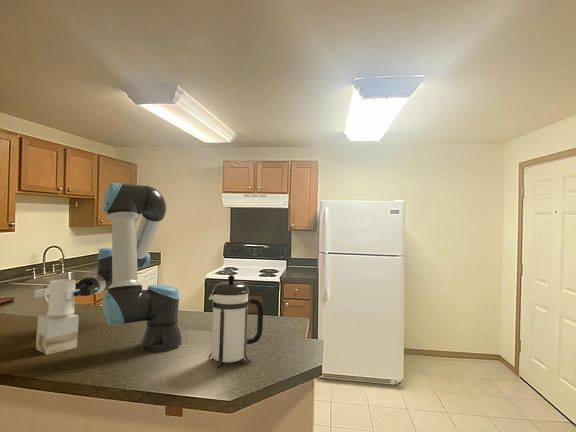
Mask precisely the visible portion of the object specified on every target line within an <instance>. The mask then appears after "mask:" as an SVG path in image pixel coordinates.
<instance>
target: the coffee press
mask: <svg viewBox="0 0 576 432" xmlns="http://www.w3.org/2000/svg"><path fill="white" fill-rule="evenodd" d="M227 279H228V281H220V282H218V283H217V284H215V286H214V288H213V289H212V292H211V293H210V294H209V297H208V300H210V301H211V300H212V322H211V323H212V327H211V329H212V331H211V352H210V354H209V355H208V359H209V358H210V357H212V359H211V360H214V361H217V365H216V368H217V369H219V368H221V367H222V368H223V367H224V365H225V363H234V362H235V363H236V362H239V361H241V362H242V363H243V364H244V365H248V364H249V362H250V360H249V358H248V356H247V347H248V345H253V344H255V343H257V342H258V341H259V340H260V339H261V337H262V336H263V329H264V328H263V325H264V324H263V323H264V322H263V321H264V319H263V318H264V309H263V304H262V303H261V302H260V301H259V300H258V299H256V298H250V299H249V293H250V289H249V288H248V285H247V284H245V283H244V282H241V281H235V276H234V275H233V274H230V275H229V276H228V277H227ZM249 304H250V305H255V306H256V308H257V319H256V320H257V321H256V322H257V326H256V328H257V329H256V334H255V336H254V337H252V338H247V337H248V335H247V333H248V332H247V331H248V308H249V307H248V306H249ZM245 363H246V364H245Z"/></svg>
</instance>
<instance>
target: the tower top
mask: <svg viewBox="0 0 576 432" xmlns="http://www.w3.org/2000/svg"><path fill="white" fill-rule="evenodd" d="M79 317H80V316H79V315H77V314H75V313H72V314H68V315H61V316H50V315H48V314H46V315H45V314H44V315H39V316H37V325H36V326H37V327H36V330H37V331H36V334H37V333H39V334H41V335H42V336H44V337H46V338H50V337H55V336H60V335H65V334H70V333H75V332H78V333H79V322H80V321H79V320H80V319H79Z"/></svg>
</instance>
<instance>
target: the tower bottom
mask: <svg viewBox="0 0 576 432" xmlns="http://www.w3.org/2000/svg"><path fill="white" fill-rule="evenodd" d="M78 334H79V331H78V332H75V333H70V334H65V335H60V336H55V337H50V338H46V337H44V336H42V335H41V334H39V333H37V332H36V335H35V336H36V338H35V350H37V351H39V352H40V353H43V354H44V355H46V356H47V355H51V354H55V353H60V352H63V351H67V350H72V349H75V348H78Z"/></svg>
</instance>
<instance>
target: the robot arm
mask: <svg viewBox="0 0 576 432" xmlns="http://www.w3.org/2000/svg"><path fill="white" fill-rule="evenodd" d="M102 212H104V213H107V219H109V220H110V221H111V234H112V235H111V247H110V248H109V247H107V248H103V247H101V248H100V249H99V250H98V255H97V273H96V275H94V276H90V277H84V278H82V279H80V280H79V282H76V285H75V290H72V291H67V292H65V299H66V300H67V299H71V298H74V297H75V298H77V297H80V296H81V297H89V296H92V295H95V296H97V294H99V293H102V292H104V293H103V295H102V298H101V299H102V311H103V316H104V319H105V321H106V323H107V324H108V325H109V326H119V325H120V326H123V325H129V324H135V323H142V322H146V327H145V329H144V332H143V334H142V338H141V340H140V349H141V350H142V351H145V352H150V353H151V352H152V353H160V352H161V353H162V352H168V351H167V350H169V351H172V350H171V349H173V350H175V349H174V348H176V347H178V346H179V345H181V346H182V344H181V343H183V341H182V340H183V338H182V334H181V331H180V327H179V306H180V304H179V303H180V293H179V292H180V291H179V289H178V288H177V287H175V286H170V285H164V284H163V285H162V284H150V285H148V286H147V289H143V284H142V283H140V281H139V280H138V279H139V278H138V269H140V268H147V267H148V266H149V265H150V263H151V262H150V261H151V255H150V253H149V250H150V248H151V245H152V242H153V240H154V237H155V234H156V232H157V229H158V226H159V224H160V222H161V221H163V220H164V218H165V216H166V212H167V205H166V200H165V198H164V196H163V195H162V193H161V192H160V191H159V190H158V189H156V188H154V187H152V186H149V185H140V184H139V185H138V184H131V183H130V184H129V183H122V182H121V183H120V182H111V183H109V184H108V185H107V187H106V189H105V192H104V195H103V200H102ZM140 218H141V219H140ZM139 219H140V221H139V225H138V227H137V221H138V220H139ZM47 287H48V286H44V287H43V288H41V289H34V293H33V294H34V295H33V298H34V299H37V298H41V297H45V296H44V293H45V289H46V288H47ZM106 291H107V292H106ZM49 292H50V287H49V288H48V290H47V297H49ZM179 347H180V346H179ZM179 347H178V348H179ZM176 349H177V348H176Z"/></svg>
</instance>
